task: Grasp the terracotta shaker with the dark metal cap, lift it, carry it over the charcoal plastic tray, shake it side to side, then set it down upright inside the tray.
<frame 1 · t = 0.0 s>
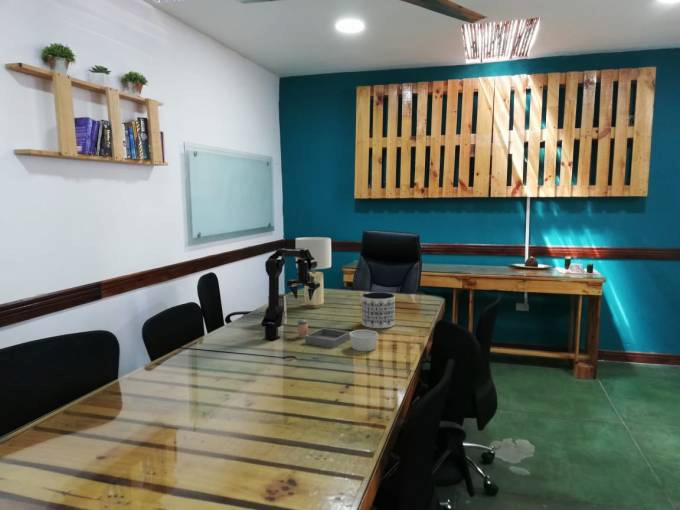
hand: (303, 299, 257), 15 cm above the table, tool pointing down, fingers open, 9 cm apart
tray: (328, 341, 230), on the table
shaker: (302, 337, 237), on the table
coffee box: (278, 323, 265), on the table
ramekin: (363, 348, 219), on the table
planter: (378, 324, 260), on the table
lamp: (314, 306, 306), on the table
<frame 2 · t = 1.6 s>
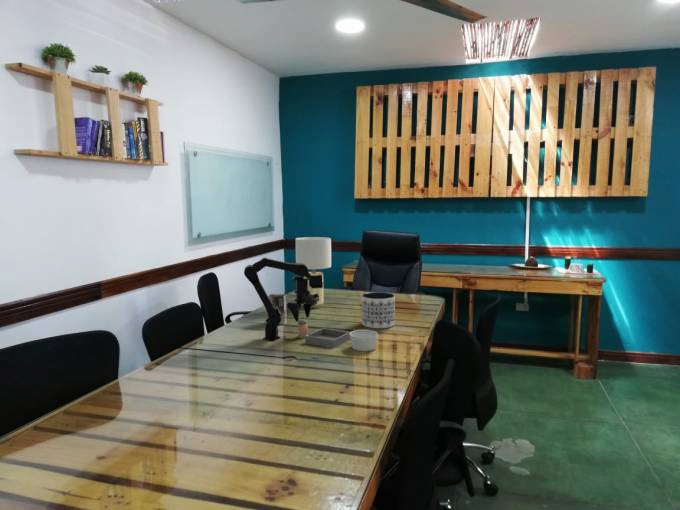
hand: (302, 319, 236), 9 cm above the table, tool pointing down, fingers open, 9 cm apart
nothing on the table moved.
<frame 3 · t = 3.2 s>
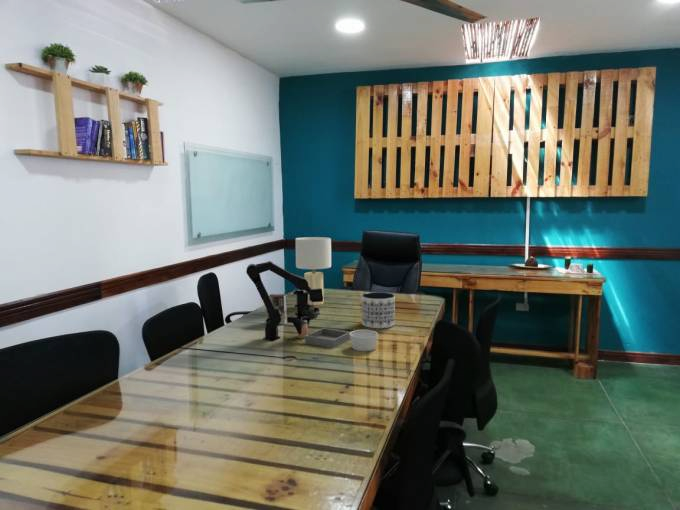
hand: (302, 333, 237), 2 cm above the table, tool pointing down, fingers closed on shaker, 5 cm apart
shaker: (302, 336, 237), on the table, touching gripper
everything else where it was.
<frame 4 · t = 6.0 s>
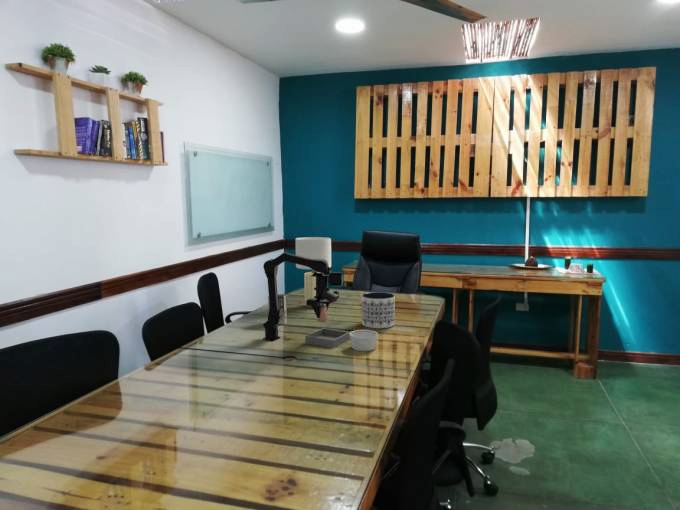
hand: (321, 316, 230), 12 cm above the table, tool pointing down, fingers closed on shaker, 5 cm apart
shaker: (321, 320, 230), point 10 cm above the table, touching gripper
everything else where it was.
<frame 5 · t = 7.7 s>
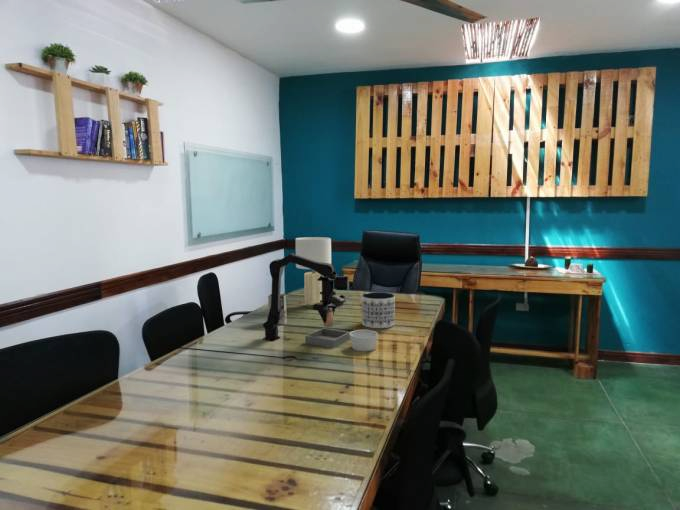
hand: (327, 321, 228), 10 cm above the table, tool pointing down, fingers closed on shaker, 5 cm apart
shaker: (327, 325, 229), point 8 cm above the table, touching gripper
everything else where it was.
when the fingers open (4 cm above the table, at t = 9.1 s): shaker stays where it is, resting on tray.
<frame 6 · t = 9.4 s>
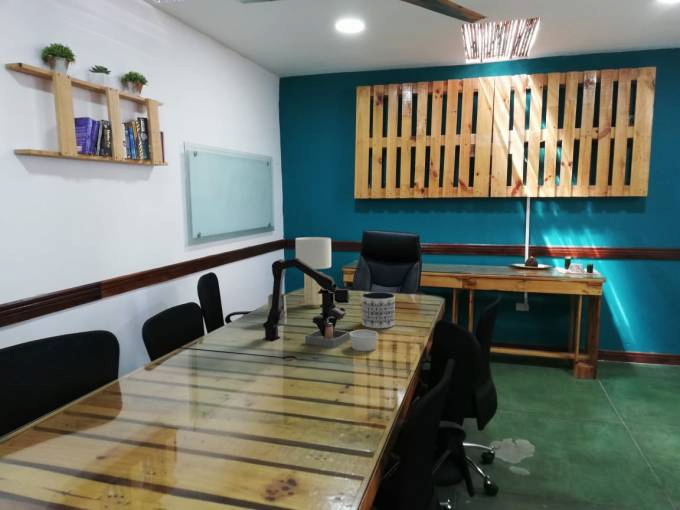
hand: (328, 333, 229), 4 cm above the table, tool pointing down, fingers open, 8 cm apart
shaker: (328, 339, 230), point 1 cm above the table, touching tray
everything else where it was.
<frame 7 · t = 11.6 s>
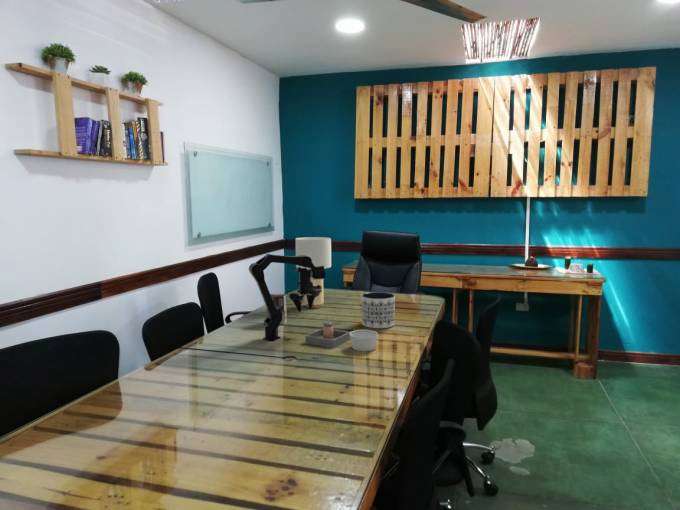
hand: (305, 310, 240), 13 cm above the table, tool pointing down, fingers open, 9 cm apart
nothing on the table moved.
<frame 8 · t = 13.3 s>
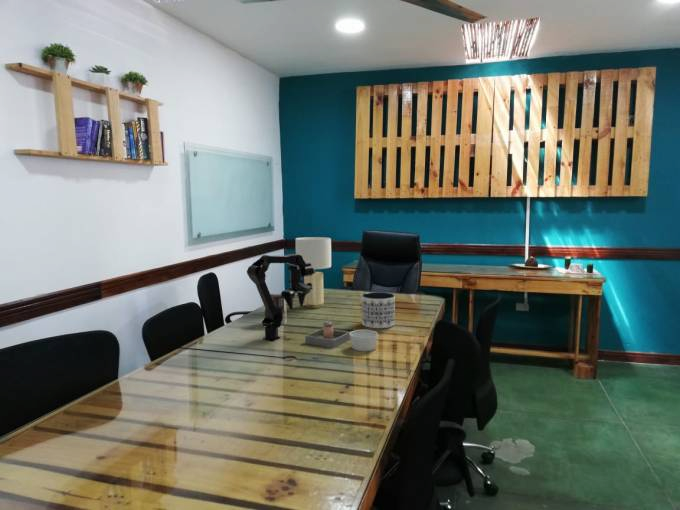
hand: (296, 307, 245), 13 cm above the table, tool pointing down, fingers open, 9 cm apart
nothing on the table moved.
at the end: shaker inside the target area on the tray (0.0 cm from its centre), point 0.6 cm above the tray's base; shaker tilted 1°; the gripper is holding nothing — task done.
